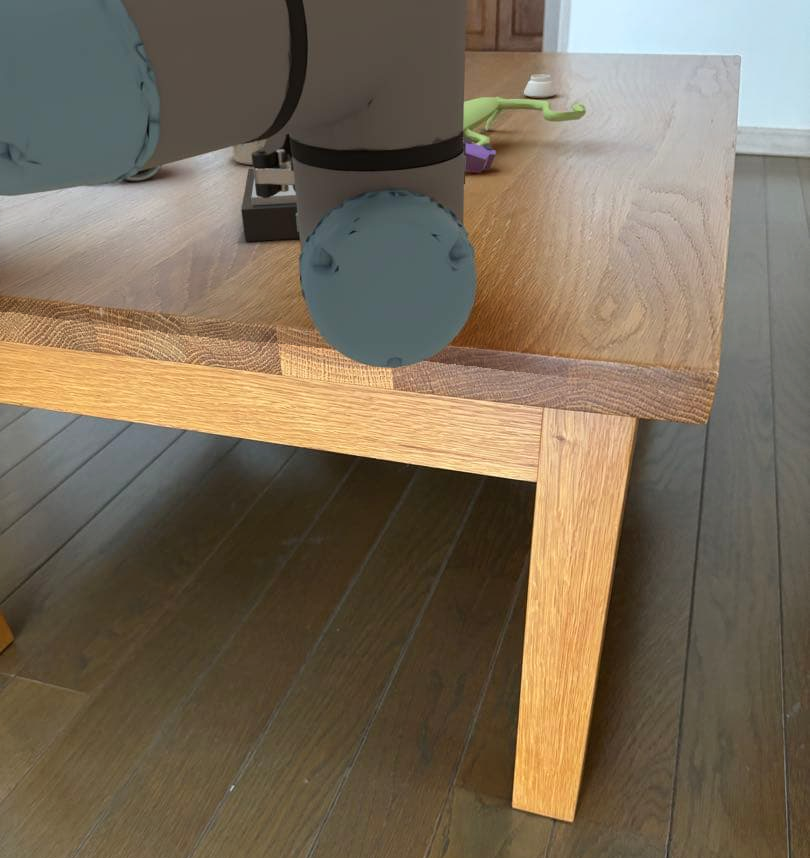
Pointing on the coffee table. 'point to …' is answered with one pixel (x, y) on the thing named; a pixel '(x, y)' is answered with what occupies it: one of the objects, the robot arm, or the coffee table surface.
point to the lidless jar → (540, 87)
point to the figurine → (489, 108)
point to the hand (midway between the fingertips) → (347, 117)
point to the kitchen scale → (269, 214)
